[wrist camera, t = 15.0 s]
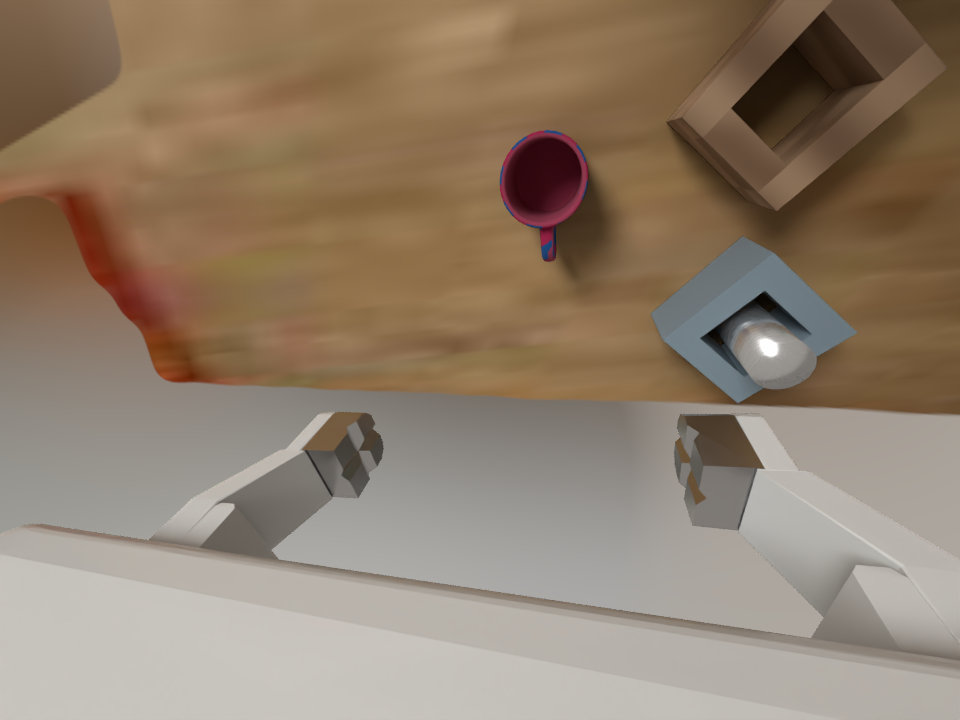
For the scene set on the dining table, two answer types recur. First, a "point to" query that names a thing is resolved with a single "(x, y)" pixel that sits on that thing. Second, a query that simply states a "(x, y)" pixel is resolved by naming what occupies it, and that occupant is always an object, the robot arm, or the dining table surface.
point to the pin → (766, 348)
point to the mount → (832, 124)
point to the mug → (544, 183)
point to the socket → (729, 290)
